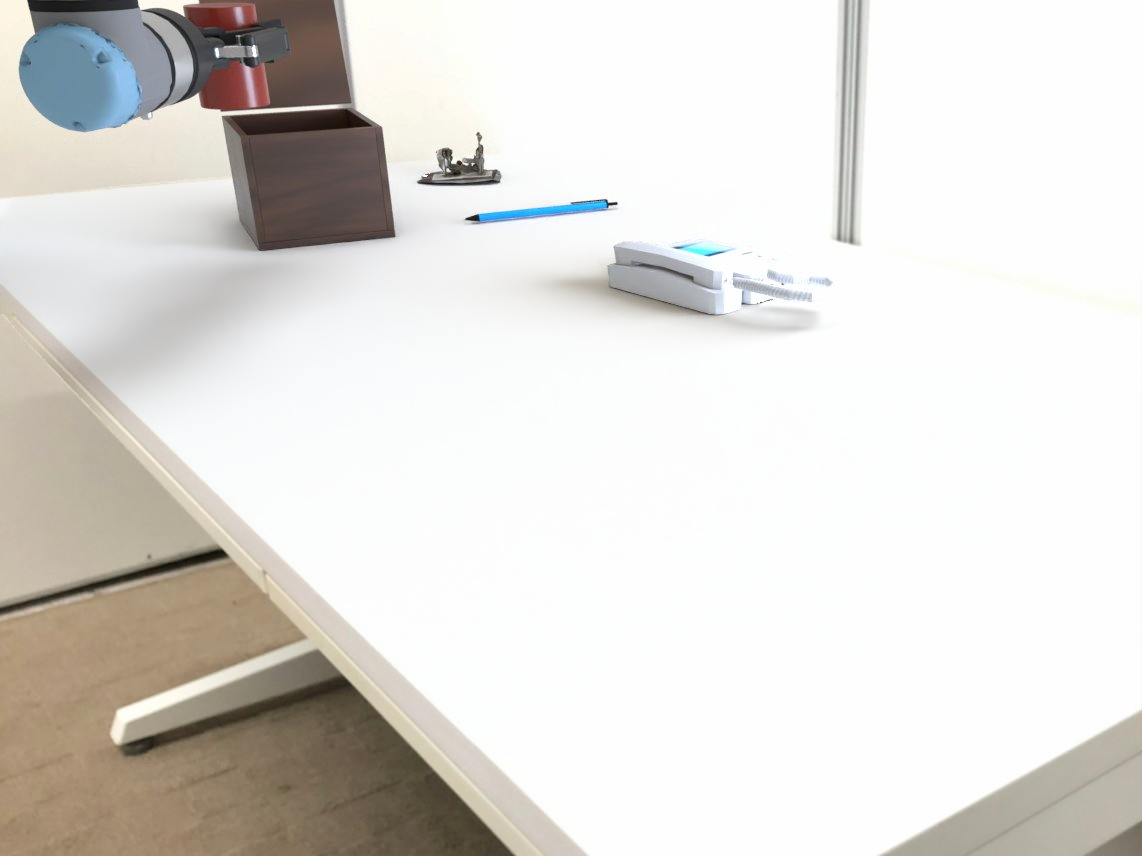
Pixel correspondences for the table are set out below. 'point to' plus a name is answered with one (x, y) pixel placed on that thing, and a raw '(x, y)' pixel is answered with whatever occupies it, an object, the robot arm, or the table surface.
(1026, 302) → the table surface
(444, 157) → the pewter figure scene
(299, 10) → the box lid
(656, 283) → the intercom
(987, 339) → the table surface
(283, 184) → the box
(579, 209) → the pen
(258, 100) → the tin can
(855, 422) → the table surface
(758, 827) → the table surface
